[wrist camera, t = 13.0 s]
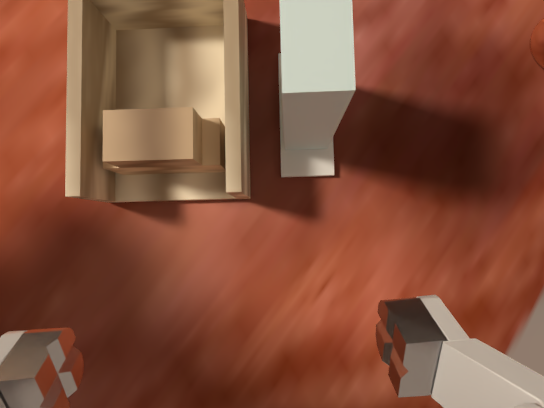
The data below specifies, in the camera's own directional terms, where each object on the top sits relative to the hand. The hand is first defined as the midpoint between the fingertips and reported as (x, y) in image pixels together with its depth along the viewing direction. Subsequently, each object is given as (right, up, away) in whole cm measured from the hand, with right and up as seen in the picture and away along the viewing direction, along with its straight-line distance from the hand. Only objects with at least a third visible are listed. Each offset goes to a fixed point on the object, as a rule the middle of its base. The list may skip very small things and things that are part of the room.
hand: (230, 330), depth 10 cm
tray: (-8, +13, +27) cm, 31 cm away
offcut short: (-8, +9, +21) cm, 25 cm away
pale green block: (+4, +12, +25) cm, 29 cm away
